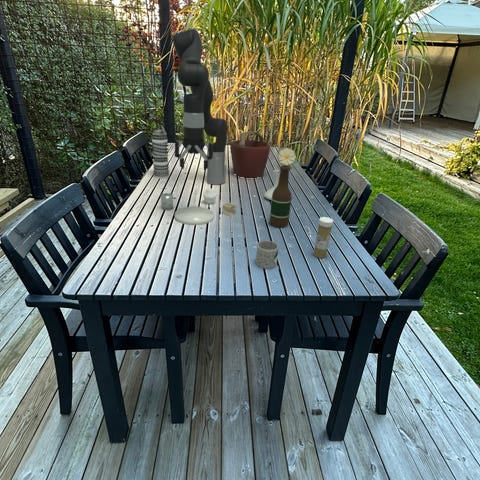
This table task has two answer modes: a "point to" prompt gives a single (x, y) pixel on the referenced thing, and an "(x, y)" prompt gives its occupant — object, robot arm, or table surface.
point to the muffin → (209, 196)
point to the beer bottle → (281, 200)
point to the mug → (267, 254)
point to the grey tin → (166, 201)
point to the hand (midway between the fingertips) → (194, 169)
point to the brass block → (229, 209)
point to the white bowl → (194, 215)
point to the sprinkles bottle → (323, 237)
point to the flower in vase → (285, 158)
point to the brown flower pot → (249, 156)
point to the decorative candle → (160, 154)
